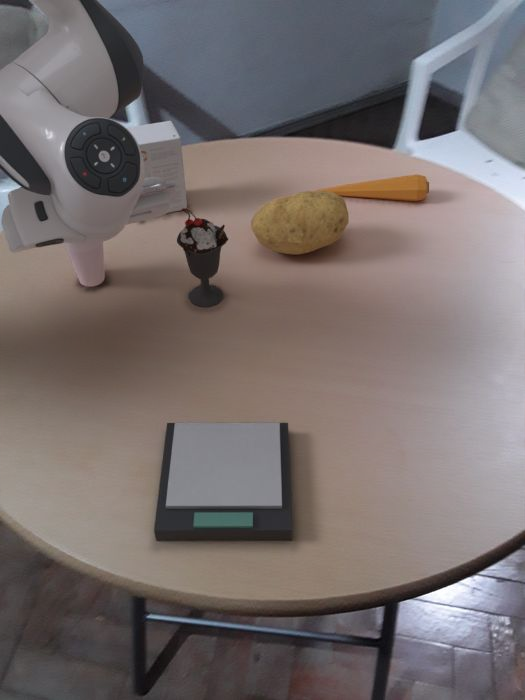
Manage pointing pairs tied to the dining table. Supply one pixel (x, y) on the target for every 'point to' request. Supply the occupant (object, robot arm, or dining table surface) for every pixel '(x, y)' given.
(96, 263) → the smoothie
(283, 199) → the potato
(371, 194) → the carrot
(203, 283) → the sundae
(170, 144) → the small box
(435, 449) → the dining table surface
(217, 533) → the scale
